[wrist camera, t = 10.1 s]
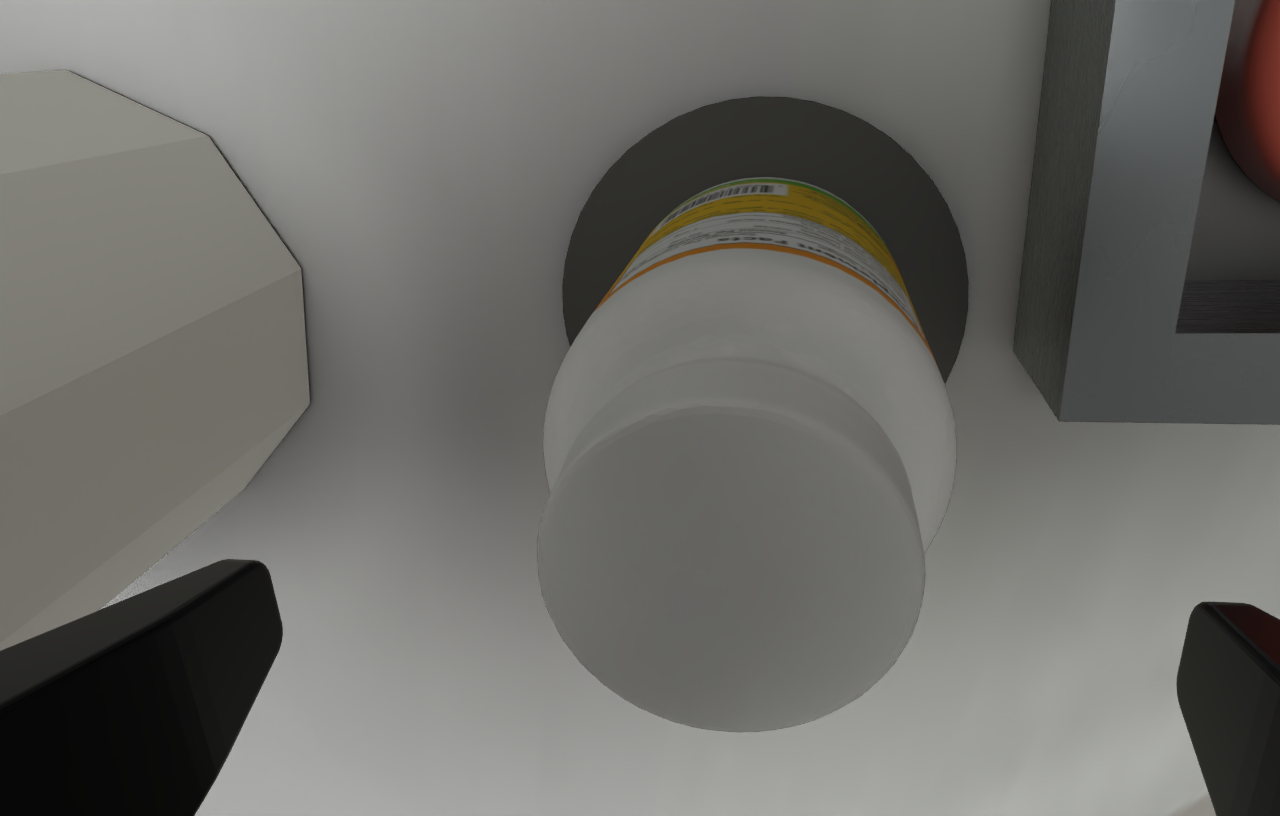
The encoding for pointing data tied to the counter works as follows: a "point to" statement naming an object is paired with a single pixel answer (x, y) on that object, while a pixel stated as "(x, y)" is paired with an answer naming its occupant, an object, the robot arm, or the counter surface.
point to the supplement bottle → (746, 464)
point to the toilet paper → (127, 343)
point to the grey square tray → (1146, 227)
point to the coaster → (781, 148)
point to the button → (1253, 92)
